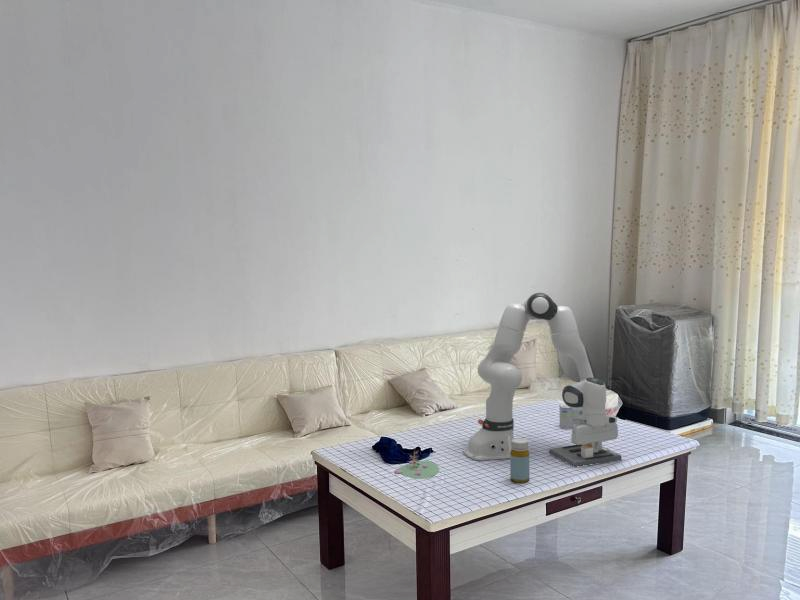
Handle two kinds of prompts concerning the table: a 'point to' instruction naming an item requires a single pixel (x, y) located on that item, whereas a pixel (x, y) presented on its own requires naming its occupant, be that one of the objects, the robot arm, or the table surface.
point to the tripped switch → (586, 451)
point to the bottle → (519, 460)
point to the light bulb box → (569, 416)
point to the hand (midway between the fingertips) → (594, 452)
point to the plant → (418, 469)
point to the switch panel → (574, 457)
